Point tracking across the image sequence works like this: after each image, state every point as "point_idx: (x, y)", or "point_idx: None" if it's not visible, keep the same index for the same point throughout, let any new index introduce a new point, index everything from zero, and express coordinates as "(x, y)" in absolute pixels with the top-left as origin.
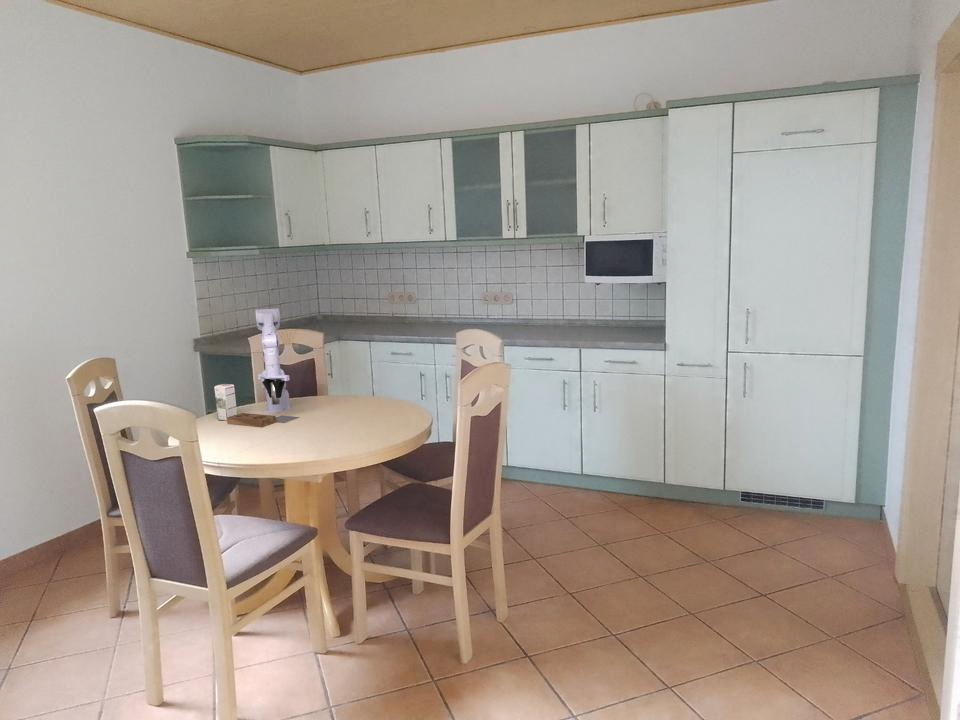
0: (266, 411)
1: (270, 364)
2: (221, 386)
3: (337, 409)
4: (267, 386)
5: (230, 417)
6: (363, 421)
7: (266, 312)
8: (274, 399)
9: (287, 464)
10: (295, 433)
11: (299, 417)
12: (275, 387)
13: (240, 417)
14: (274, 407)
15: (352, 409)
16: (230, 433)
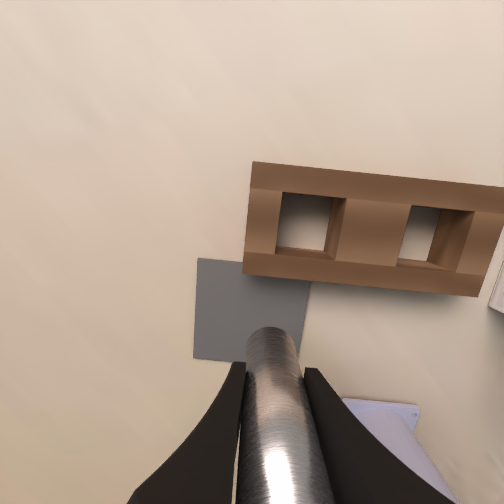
0: (399, 405)
1: None
2: None
3: (137, 476)
4: (355, 459)
5: (493, 192)
6: None
7: None
8: (263, 351)
9: None
10: (21, 113)
11: (194, 352)
12: (218, 443)
13: (429, 204)
14: (369, 426)
15: (82, 483)
16: (364, 28)
